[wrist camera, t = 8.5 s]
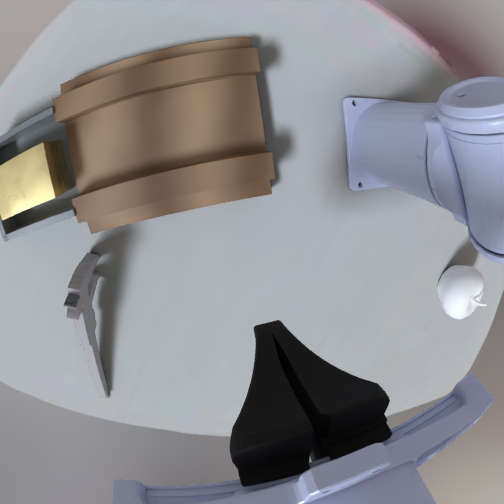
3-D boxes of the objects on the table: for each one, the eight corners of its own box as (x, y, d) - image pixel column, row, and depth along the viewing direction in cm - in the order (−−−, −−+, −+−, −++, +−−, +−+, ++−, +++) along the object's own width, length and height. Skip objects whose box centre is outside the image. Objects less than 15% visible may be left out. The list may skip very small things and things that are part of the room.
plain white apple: (466, 260, 30) (504, 287, 23) (445, 303, 32) (478, 333, 25) (445, 250, 28) (489, 280, 21) (421, 298, 30) (459, 334, 23)
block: (62, 139, 15) (43, 142, 13) (72, 188, 17) (55, 197, 14) (10, 165, 15) (-10, 172, 12) (20, 209, 16) (2, 220, 14)
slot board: (246, 42, 15) (253, 30, 13) (267, 190, 21) (277, 198, 18) (67, 86, 14) (51, 82, 11) (96, 228, 19) (84, 241, 17)
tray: (69, 109, 15) (52, 106, 12) (89, 205, 18) (74, 216, 16) (0, 145, 14) (-19, 149, 11) (21, 229, 17) (4, 241, 15)
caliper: (89, 249, 20) (60, 287, 14) (100, 251, 20) (74, 291, 15) (102, 393, 27) (94, 433, 21) (110, 395, 27) (103, 435, 22)
